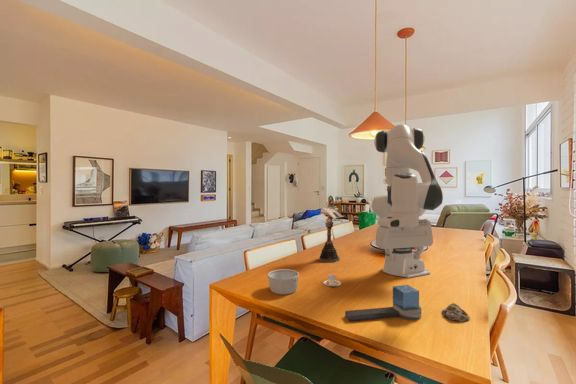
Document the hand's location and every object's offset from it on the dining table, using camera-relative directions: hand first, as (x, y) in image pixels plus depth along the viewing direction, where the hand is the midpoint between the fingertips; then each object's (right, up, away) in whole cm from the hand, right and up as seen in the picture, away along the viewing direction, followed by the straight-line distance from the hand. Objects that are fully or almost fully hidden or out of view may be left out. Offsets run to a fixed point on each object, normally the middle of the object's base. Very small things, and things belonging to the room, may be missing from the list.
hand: (404, 260), depth 95 cm
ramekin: (-42, -18, +22) cm, 51 cm away
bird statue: (-13, -17, +68) cm, 71 cm away
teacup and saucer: (-23, -19, +28) cm, 41 cm away
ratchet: (-8, -18, -2) cm, 20 cm away
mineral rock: (+16, -19, -2) cm, 25 cm away
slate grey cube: (0, -16, 0) cm, 16 cm away
